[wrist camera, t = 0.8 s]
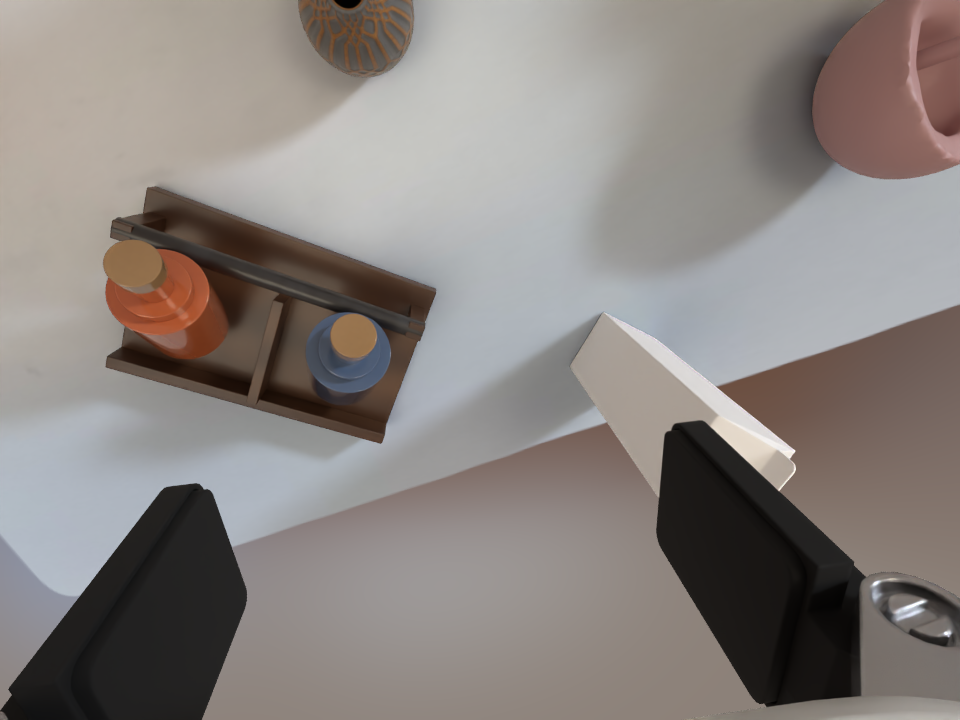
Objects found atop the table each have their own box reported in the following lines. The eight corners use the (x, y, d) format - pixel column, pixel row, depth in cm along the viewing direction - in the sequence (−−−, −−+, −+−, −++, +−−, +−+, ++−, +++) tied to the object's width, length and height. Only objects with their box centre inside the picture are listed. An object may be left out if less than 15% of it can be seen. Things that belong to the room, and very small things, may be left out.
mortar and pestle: (946, 93, 40) (1132, 72, 29) (822, 206, 42) (953, 224, 32) (880, -38, 36) (1069, -115, 25) (747, 96, 38) (869, 76, 28)
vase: (422, 77, 36) (421, 55, 27) (325, 88, 35) (297, 70, 27) (405, -42, 33) (399, -104, 25) (300, -30, 32) (260, -90, 24)
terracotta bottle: (164, 278, 38) (98, 198, 26) (240, 302, 39) (208, 236, 28) (132, 345, 36) (48, 291, 25) (212, 369, 38) (167, 327, 26)
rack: (155, 186, 36) (108, 192, 31) (436, 288, 42) (437, 309, 36) (127, 351, 41) (82, 382, 36) (384, 425, 46) (378, 462, 41)
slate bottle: (320, 329, 41) (322, 276, 29) (386, 350, 42) (412, 308, 31) (297, 393, 39) (289, 364, 28) (366, 413, 40) (385, 394, 29)
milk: (568, 366, 46) (679, 536, 26) (603, 310, 44) (752, 445, 24) (621, 390, 48) (765, 568, 27) (657, 337, 46) (839, 485, 25)
